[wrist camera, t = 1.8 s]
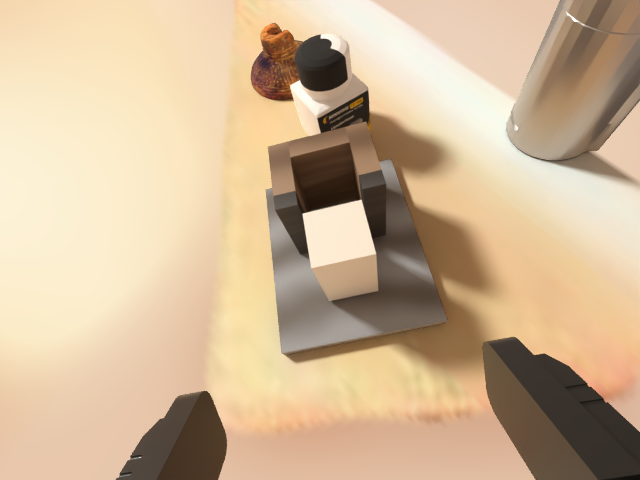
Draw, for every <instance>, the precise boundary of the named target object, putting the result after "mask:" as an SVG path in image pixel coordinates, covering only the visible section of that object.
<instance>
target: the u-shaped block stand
mask: <svg viewBox="0 0 640 480" xmlns="http://www.w3.org/2000/svg"><path fill="white" fill-rule="evenodd" d="M268 152H269V161H270V170H271V179H272V188H270V189H266V198H267V208H268V218H269V229H270V239H271V249H272V260H273V270H274V281H275V291H276V301H277V312H278V322H279V333H280V343H281V353H282V354H284V355H287V354H292V353H297V352H302V351H307V350H312V349H317V348H323V347H328V346H333V345H338V344H343V343H348V342H353V341H358V340H363V339H368V338H373V337H378V336H383V335H388V334H393V333H398V332H403V331H408V330H413V329H418V328H423V327H428V326H433V325H438V324H443V323H446V322H447V317H446V314H445V311H444V309H443V306H442V303H441V300H440V297H439V294H438V291H437V289H436V286H435V283H434V280H433V277H432V274H431V271H430V269H429V266H428V263H427V260H426V257H425V254H424V251H423V249H422V246H421V243H420V240H419V237H418V234H417V231H416V229H415V226H414V223H413V220H412V217H411V214H410V211H409V209H408V206H407V203H406V200H405V197H404V194H403V191H402V189H401V186H400V183H399V180H398V177H397V174H396V171H395V169H394V166H393V163H392V160H391V159H388V160H384V161H380V162H379V160H378V157H377V154H376V150H375V147H374V144H373V141H372V138H371V135H370V132H369V129H368V126H367V123H366V122H362V123H359V124H355V125H351V126H347V127H343V128H339V129H335V130H331V131H327V132H324V133H320V134H316V135H312V136H308V137H304V138H300V139H296V140H293V141H289V142H285V143H281V144H277V145H273V146H269V147H268ZM358 200H362V203H363V207H364V211H365V214H366V218H367V222H368V226H369V229H370V233H371V237H372V240H373V244H374V248H375V251H376V260H377V276H378V291H376V292H371V293H366V294H361V295H357V296H352V297H347V298H342V299H338V300H333V301H329V300H328V298H327V296H326V294H325V293H324V291H323V289H322V287H321V285H320V284H319V282H318V280H317V278H316V276H315V274H314V273H313V271H312V269H311V264H310V258H309V252H308V245H307V239H306V233H305V226H304V220H303V213H307V212H312V211H316V210H320V209H324V208H328V207H333V206H337V205H341V204H345V203H350V202H354V201H358Z"/></svg>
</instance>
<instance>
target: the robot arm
mask: <svg viewBox="0 0 640 480" xmlns="http://www.w3.org/2000/svg"><path fill="white" fill-rule="evenodd" d="M639 101H640V0H560V2H559V4H558V6H557V8H556V11H555V13H554V15H553V18H552V20H551V22H550V25H549V27H548V29H547V31H546V34H545V36H544V39H543V41H542V43H541V46H540V48H539V50H538V52H537V54H536V57H535V59H534V62H533V64H532V66H531V68H530V71H529V73H528V75H527V78H526V80H525V82H524V84H523V87H522V89H521V92H520V94H519V96H518V98H517V101H516V103H515V105H514V106H513V109H512V111H511V115H510V117H509V119H508V122H507V126H506V131H507V135H508V137H509V139H510V141H511V142H512V143H513V144H514V145H515V146H516V147H517V148H518V149H520V150H521V151H522V152H524V153H526V154H528V155H530V156H533V157H537V158H540V159H546V160H564V159H570V158H573V157H576V156H578V155H580V154H582V153H584V152H586V151H597V150H599V149H600V147H601V146H602V145H603V144H604V143H605V141H606V140H607V139H608V138H609V137H610V136H611V134H612V133H613V132H614V131H615V129H616V128H617V127H618V126H619V125H620V123H621V122H622V121H623V120H624V119H625V118H626V116H627V115H628V114H629V113H630V112H631V111H632V109H633V108H634V107H635V106H636V104H637V103H638V102H639ZM482 348H483V359H484V369H485V379H486V389H487V394H488V398H489V401H490V404H491V406H492V408H493V411H494V413H495V415H496V416H497V418H498V420H499V421H500V423H501V424H502V426H503V427H504V429H505V431H506V432H507V434H508V436H509V437H510V439H511V441H512V442H513V444H514V445H515V447H516V448H517V450H518V452H519V454H520V455H521V457H522V458H523V460H524V462H525V463H526V465H527V466H528V468H529V470H530V471H531V473H532V474H533V476H534V478H535V479H536V480H640V432H639V431H638V430H637V429H636V428H635V427H633V425H632V424H630V423H629V422H628V421H627V420H626V419H625V418H624V417H623V416H622V415H621V414H620V413H619V412H617V411H616V410H615V409H614V408H613V407H612V406H611V405H610V404H609V403H608V402H607V403H605V401H604V399H603V398H602V397H601V396H600V395H599V394H598V393H597V392H596V391H595V390H594V389H593V388H592V387H588V385H587V383H586V382H585V381H584V380H583V379H582V378H581V377H580V376H579V375H578V374H576V373H575V372H574V371H573V370H572V369H571V368H570V367H569V366H567V365H565V364H563V363H562V362H560V361H558V360H556V359H554V358H552V357H550V356H548V355H546V354H539V355H533V354H532V353H531V352H530V351H529V350H528V349H527V348H526V347H525V346H524V345H523V344H522V343H521V342H520V341H519V340H518V339H517V338H516V337H510V338H504V339H498V340H493V341H487V342H484V343H483V347H482ZM226 449H227V438H226V433H225V430H224V427H223V425H222V422H221V420H220V417H219V415H218V412H217V410H216V407H215V405H214V402H213V400H212V397H211V395H210V394H209V393H208V392H207V391H202V392H197V393H191V394H185V395H180V396H178V397H177V398H176V399H175V401H174V403H173V404H172V406H171V407H170V409H169V411H168V412H167V414H166V416H165V417H164V418H163V419H160V420H159V421H158V422H157V423H156V424H155V425H154V426H153V427H152V428H151V429H150V430H149V431H148V432H147V433H146V434H145V435H144V436H143V437H142V439H141V440H140V442H139V444H138V445H137V447H136V448H135V450H134V452H133V453H132V455H131V456H130V457H131V459H130V460H128V461H127V463H126V464H125V466H124V468H123V469H122V471H121V472H120V477H119V478H117V479H116V480H218V478H219V475H220V472H221V469H222V465H223V463H224V460H225V456H226Z"/></svg>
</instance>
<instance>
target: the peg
mask: <svg viewBox="0 0 640 480" xmlns="http://www.w3.org/2000/svg"><path fill="white" fill-rule="evenodd" d="M303 220H304V226H305V233H306V239H307V245H308V252H309V258H310V264H311V269H312V271H313V273H314V274H315V276H316V278H317V280H318V282H319V284H320V285H321V287H322V289H323V291H324V293H325V294H326V296H327V298H328V300H329V301H333V300H338V299H342V298H347V297H352V296H357V295H361V294H366V293H371V292H376V291H378V276H377V260H376V251H375V248H374V244H373V240H372V237H371V233H370V229H369V226H368V222H367V218H366V214H365V211H364V207H363V203H362V200H358V201H354V202H350V203H345V204H341V205H337V206H333V207H328V208H324V209H320V210H316V211H312V212H307V213H303Z"/></svg>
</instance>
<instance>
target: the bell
mask: <svg viewBox="0 0 640 480" xmlns="http://www.w3.org/2000/svg"><path fill="white" fill-rule="evenodd" d="M261 43H262V46H263V51H262V52H261V53H260V54H259V56H258V57H257V59H256V60H255V62H254V64H253V66H252V71H251V81H252V86H253V88H254V89H255V90H256V91H257V92H258V93H259V94H261V95H263V96H265V97H268V98H271V99H278V100H284V99H290V98H293V96H292V92H291V89H290V86H291V85H292V84H294V83H296V82H297V81H299V80H300V79H299V75H298V71H297V67H296V63H295V59H294V58H295V53H296V51H297V49H298V47H299V46H300V45H301V44H302V43H303V42H302V41H297V40H294V37H293V35H292V34H291V33H290V32H289V31H288V30H284V31H283V32H282V31H281V29H280V27H279V26H278V25H277V24H276V23H272V24H270V25H268V26H266V27H265V28H264V29H263V31H262V33H261ZM263 93H264V94H263Z"/></svg>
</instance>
